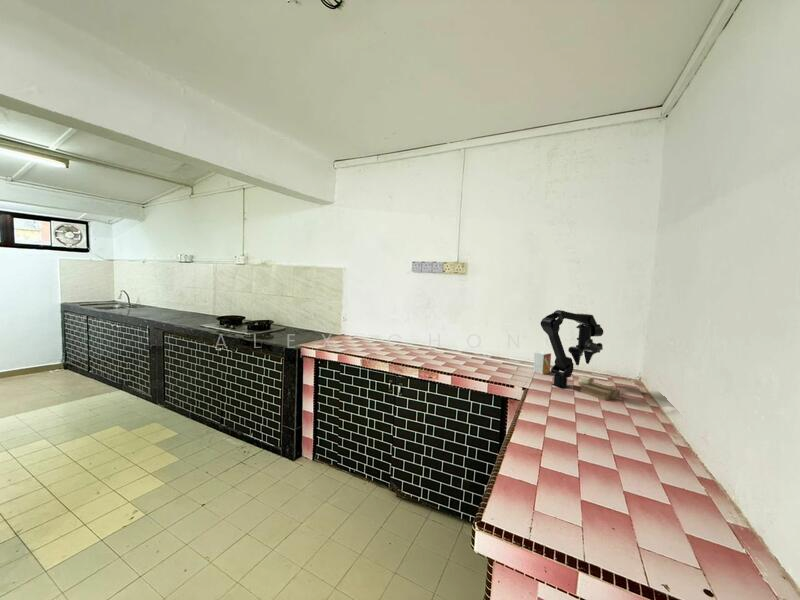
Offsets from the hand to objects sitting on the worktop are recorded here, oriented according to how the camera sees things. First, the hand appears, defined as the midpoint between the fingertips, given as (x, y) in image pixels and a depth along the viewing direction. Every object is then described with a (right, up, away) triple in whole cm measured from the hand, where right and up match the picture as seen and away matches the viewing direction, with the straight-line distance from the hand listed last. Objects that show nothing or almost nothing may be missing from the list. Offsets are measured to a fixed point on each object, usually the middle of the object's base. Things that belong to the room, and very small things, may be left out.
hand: (582, 364), depth 168 cm
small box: (-14, -10, +18) cm, 25 cm away
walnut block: (0, -12, -15) cm, 19 cm away
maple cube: (0, -11, -3) cm, 12 cm away
